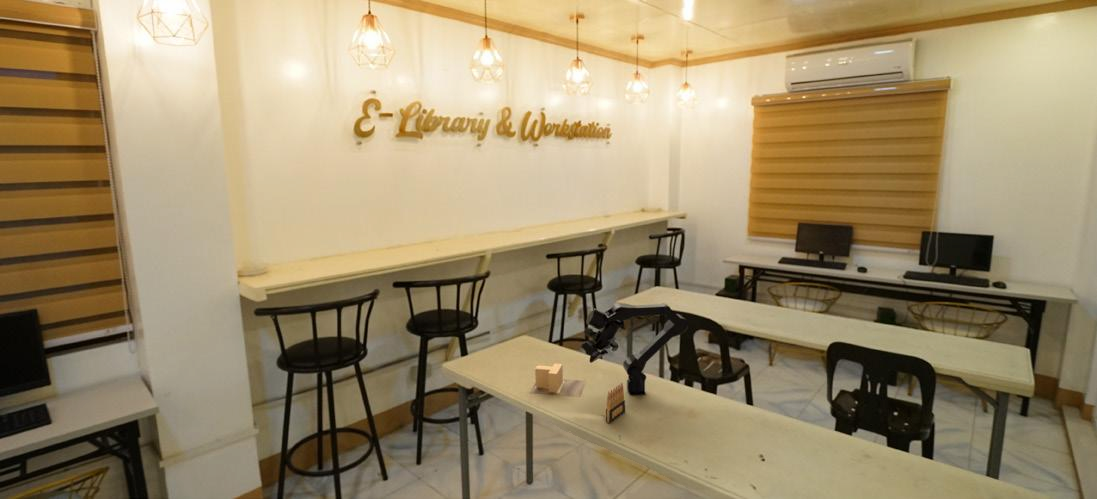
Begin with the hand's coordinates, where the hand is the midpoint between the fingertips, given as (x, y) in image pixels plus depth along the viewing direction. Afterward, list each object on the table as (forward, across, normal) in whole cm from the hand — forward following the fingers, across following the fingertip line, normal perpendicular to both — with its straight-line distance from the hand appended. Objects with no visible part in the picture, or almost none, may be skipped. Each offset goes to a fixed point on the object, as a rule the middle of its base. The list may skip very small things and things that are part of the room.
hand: (590, 361), depth 214 cm
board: (+17, +6, -3) cm, 18 cm away
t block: (+18, +8, -7) cm, 21 cm away
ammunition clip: (+4, +10, +25) cm, 27 cm away
